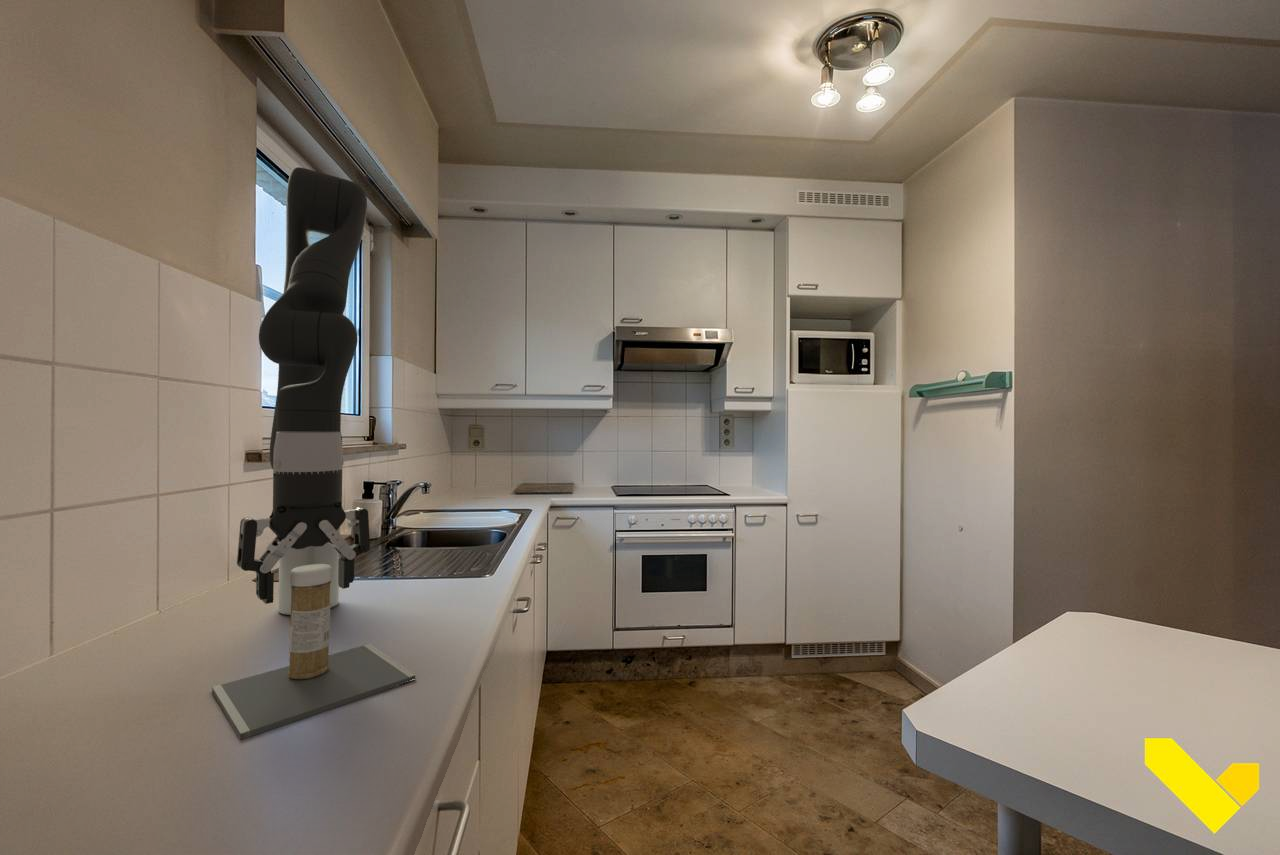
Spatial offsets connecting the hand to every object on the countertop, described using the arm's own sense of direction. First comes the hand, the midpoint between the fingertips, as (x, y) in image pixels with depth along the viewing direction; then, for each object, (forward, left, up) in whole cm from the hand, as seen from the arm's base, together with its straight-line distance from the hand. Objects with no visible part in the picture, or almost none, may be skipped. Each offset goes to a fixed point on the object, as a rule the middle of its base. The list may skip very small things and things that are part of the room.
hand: (307, 594), depth 68 cm
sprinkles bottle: (0, 0, -10) cm, 10 cm away
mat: (+3, 0, -11) cm, 11 cm away
